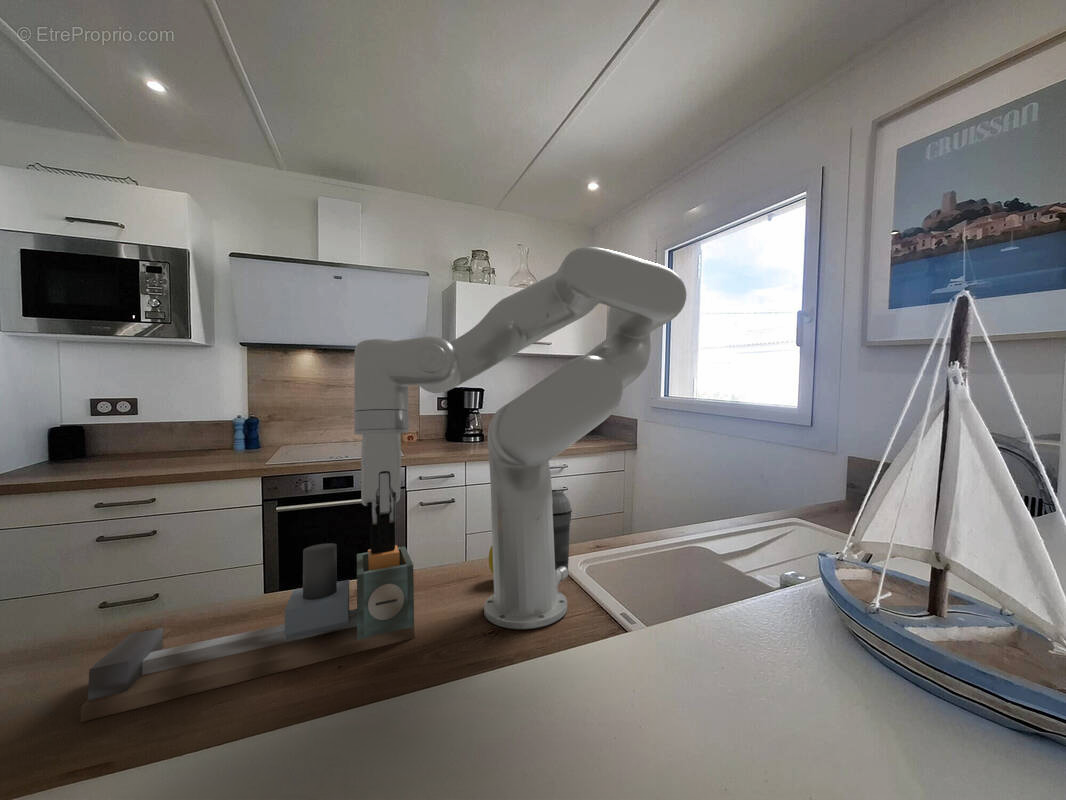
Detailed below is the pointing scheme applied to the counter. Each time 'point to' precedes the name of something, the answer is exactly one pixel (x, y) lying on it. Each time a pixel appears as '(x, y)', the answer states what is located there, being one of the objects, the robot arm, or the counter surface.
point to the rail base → (235, 670)
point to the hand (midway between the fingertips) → (382, 550)
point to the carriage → (318, 595)
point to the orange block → (383, 559)
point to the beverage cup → (561, 528)
